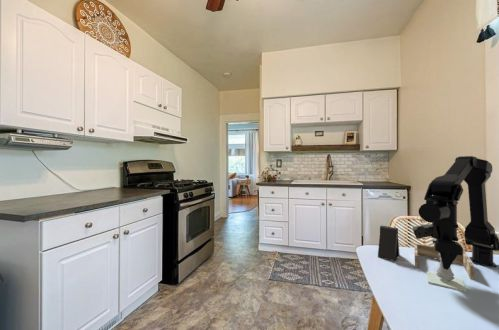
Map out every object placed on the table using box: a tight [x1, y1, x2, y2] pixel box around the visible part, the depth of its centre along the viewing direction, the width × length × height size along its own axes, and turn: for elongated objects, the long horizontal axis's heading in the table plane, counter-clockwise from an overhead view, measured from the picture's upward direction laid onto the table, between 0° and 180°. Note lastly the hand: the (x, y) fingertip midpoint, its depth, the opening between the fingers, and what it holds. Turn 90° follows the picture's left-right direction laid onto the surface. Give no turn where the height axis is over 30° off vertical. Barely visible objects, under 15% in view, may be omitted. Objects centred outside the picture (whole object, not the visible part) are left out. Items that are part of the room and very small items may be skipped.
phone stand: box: [377, 225, 400, 262], centre depth 94 cm, size 9×6×12 cm, turn 136°
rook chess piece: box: [435, 253, 455, 280], centre depth 73 cm, size 4×4×8 cm
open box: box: [414, 243, 475, 280], centre depth 85 cm, size 16×16×4 cm
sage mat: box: [426, 271, 468, 293], centre depth 73 cm, size 9×9×1 cm
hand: (445, 267), depth 73 cm, fingers closed on rook chess piece, 3 cm apart
